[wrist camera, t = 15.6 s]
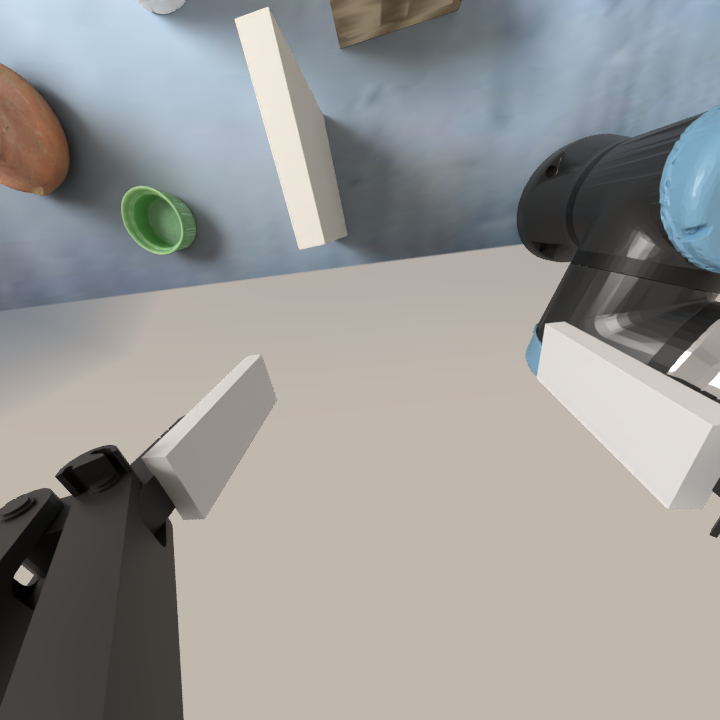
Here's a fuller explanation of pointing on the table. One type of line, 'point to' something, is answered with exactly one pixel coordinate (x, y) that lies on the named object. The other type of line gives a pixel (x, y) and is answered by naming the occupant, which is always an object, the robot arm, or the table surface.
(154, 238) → the ramekin
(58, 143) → the ceramic jug
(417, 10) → the pine rack
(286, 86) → the white board
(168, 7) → the decorative vase
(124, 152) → the table surface
